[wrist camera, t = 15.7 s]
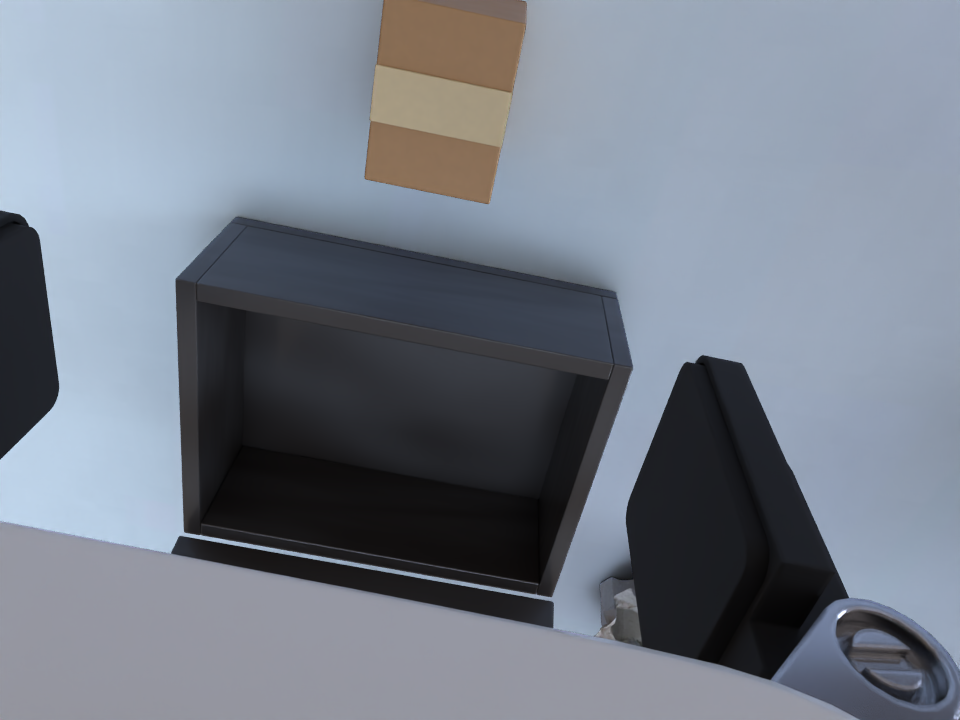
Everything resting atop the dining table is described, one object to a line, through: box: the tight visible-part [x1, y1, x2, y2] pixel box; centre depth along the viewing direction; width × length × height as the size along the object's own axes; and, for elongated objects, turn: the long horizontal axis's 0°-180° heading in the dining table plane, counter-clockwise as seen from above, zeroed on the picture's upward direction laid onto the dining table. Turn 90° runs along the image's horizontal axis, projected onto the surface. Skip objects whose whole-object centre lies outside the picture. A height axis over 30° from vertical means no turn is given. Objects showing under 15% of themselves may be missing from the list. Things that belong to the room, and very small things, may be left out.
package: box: [365, 0, 527, 204], centre depth 27 cm, size 6×4×7 cm
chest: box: [176, 217, 633, 597], centre depth 35 cm, size 14×18×7 cm
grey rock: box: [594, 577, 642, 647], centre depth 44 cm, size 11×8×4 cm
